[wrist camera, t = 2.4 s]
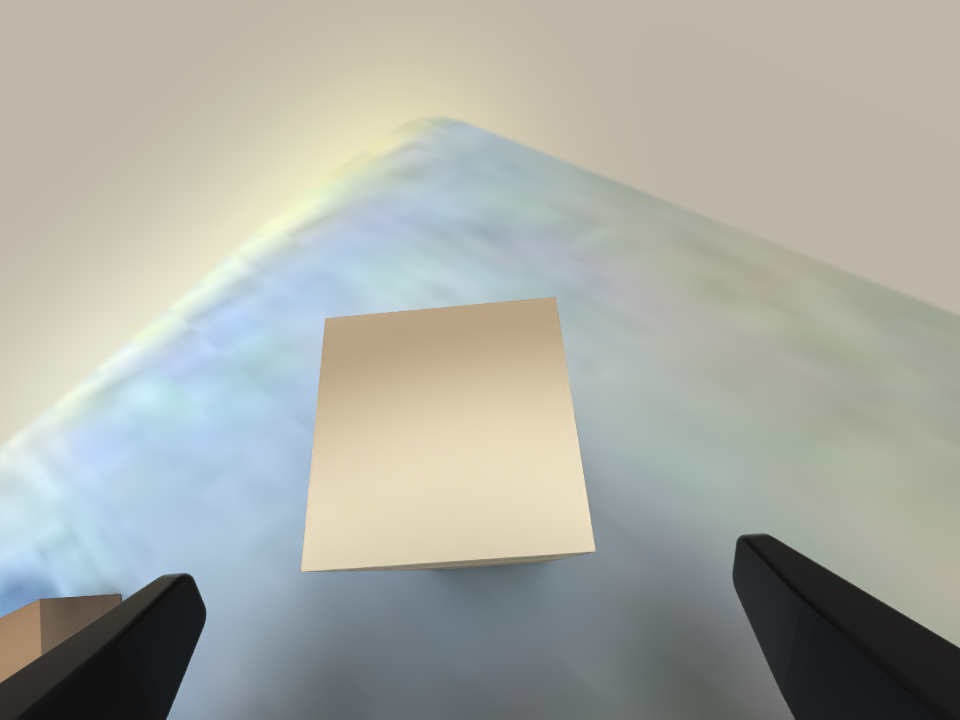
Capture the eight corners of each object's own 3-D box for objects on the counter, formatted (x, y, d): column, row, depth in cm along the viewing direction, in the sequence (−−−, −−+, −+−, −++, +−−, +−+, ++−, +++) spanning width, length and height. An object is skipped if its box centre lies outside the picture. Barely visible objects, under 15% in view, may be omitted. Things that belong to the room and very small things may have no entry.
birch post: (547, 562, 15) (595, 550, 6) (431, 569, 16) (300, 571, 6) (534, 447, 17) (555, 296, 8) (430, 455, 17) (325, 318, 8)
